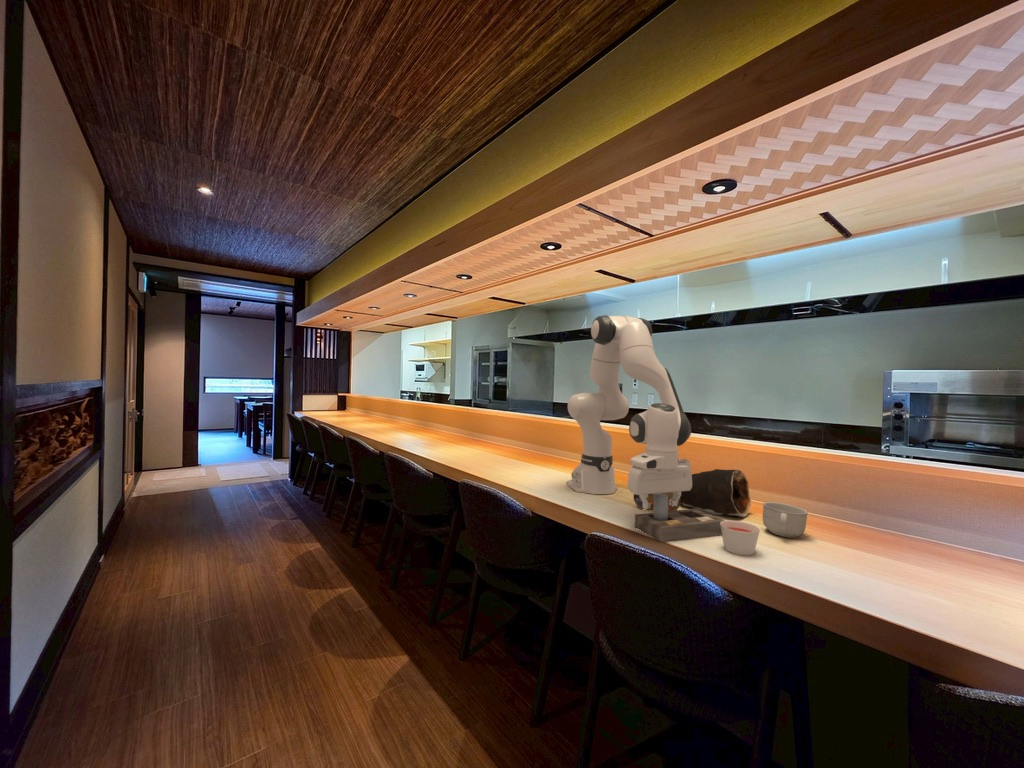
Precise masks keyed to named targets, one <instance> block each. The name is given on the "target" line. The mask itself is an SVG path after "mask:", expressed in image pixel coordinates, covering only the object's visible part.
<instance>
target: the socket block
mask: <svg viewBox="0 0 1024 768" xmlns="http://www.w3.org/2000/svg"><path fill="white" fill-rule="evenodd" d="M722 521H726V520H725V519H722V518H721V517H718V516H716V515H713V514H710V513H706V512H703V511H700V510H698V509H695V508H689V509H688V508H687V509H686V508H685V509H677V510H675V511H668V520H666V521H658V520H656V519H654V518H653V512H646V513H643V512H642V513H635V515H634V529H636V528H637V530H638V529H639V530H638V531H640V530H641V531H640V532H642V531H643V532H642V533H643V534H645V533H646V534H645V535H648V536H649V537H651V538H653V539H655V540H657V541H658V542H660V543H669V542H670V541H671V542H677V541H679V542H680V541H685V540H694V539H702V538H708V537H709V538H710V537H711V538H712V537H717V536H722V532H721V526H720V522H722ZM671 542H670V543H671Z"/></svg>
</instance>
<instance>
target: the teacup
mask: <svg viewBox="0 0 1024 768" xmlns="http://www.w3.org/2000/svg"><path fill="white" fill-rule="evenodd" d="M762 505H763V507H762V509H763V510H762V523H763V525H764V527H765V528H766V529H768V531H769V532H770V533H772V534H774V535H777V536H781V537H783V538H790V539H791V538H792V539H793V538H797V537H799V536H802V535H803V534H804V533H805V531H806V528H807V527H806V526H807V520H808V513H809V512H808V510H806V509H804V508H801V507H798V506H796V505H793V504H787V503H783V502H775V501H774V502H773V501H766V502H763V503H762Z"/></svg>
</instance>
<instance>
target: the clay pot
mask: <svg viewBox="0 0 1024 768" xmlns="http://www.w3.org/2000/svg"><path fill="white" fill-rule="evenodd" d="M691 474H692V473H691ZM749 487H750V485H749V480H748V479H747V477H746V475H745V473H744V472H743V471H742V470H740V469H721V468H720V469H719V468H715V469H711V470H705V471H701V472H697V473H693V474H692V488H691V490H690V491H681V496H680V505H683V506H684V507H688V508H691V509H697V510H700V511H702V512H705V513H707V514H710V515H713V516H733V517H740V518H745V517H746V516H747V515H748V512H749V510H750V508H751V502H752V499H751V494H750V488H749Z"/></svg>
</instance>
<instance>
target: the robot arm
mask: <svg viewBox="0 0 1024 768" xmlns="http://www.w3.org/2000/svg"><path fill="white" fill-rule="evenodd" d="M652 327H653V326H652V325H651V323H650V321H649V320H647V319H645V318H642V317H634V316H630V315H629V316H628V315H607V314H606V315H599V316H596V318H594V320H593V321H592V323H591V327H590V337H591V338H592V340H593V342H594V343H595V344H594V347H593V351H592V357H591V364H590V369H589V377H590V379H591V381H592V382H593V383H594V384H596V385H597V386H598V392H580V393H575V394H573V395H571V396H570V398H569V399H568V402H567V411H568V414H569V415H570V417H571V418H572V419H573V420H574V421H575V422H577V424H578V425H579V427H580V429H581V432H582V438H583V441H582V442H583V444H582V445H583V453H582V454H581V456H580V462H579V464H578V465H577V466H576V467H575V468H574V469H572V472H571V479H570V480H566V483H565V484H566V485H568V486H569V487H570V489H572V490H573V491H574V490H575V491H574V492H576V493H586V494H592V495H610V494H614V493H615V492H616V490H618V486H617V485H616V476H615V474H616V473H615V468H614V467H613V464H614V463H613V458H614V457H613V455H612V449H613V446H612V445H613V443H612V442H613V441H612V440H613V439H612V436H611V434H610V433H609V432H608V431H607V430H605V429H603V428H602V425H601V421H617V420H620V419H624V418H625V417H626V416H627V415H628V413H629V409H630V404H629V400H628V399H627V397H626V396H625V395H624V394H623V393H622V392H621V388H620V384H619V377H620V369H621V367H622V370H623V371H624V373H625V374H626V375H628V376H629V377H630V378H632V379H634V380H636V381H639V382H642V383H644V384H646V385H647V386H650V387H652V388H653V389H655V390H656V392H657V393H658V396H659V398H660V401H661V402H659V403H657V402H655V403H652V404H651V403H650V404H649V406H648V408H647V410H645V411H642V412H640V413H636V414H634V415H633V416H632V417H631V419H630V420H629V423H628V424H629V426H628V431H629V436H630V437H631V439H632V440H633V441H634V442H635V443H637V444H642V445H646V446H645V452H643V453H640V454H638V455H635V456H633V457H631V458H630V460H629V461H630V465H631V467H630V469H629V472H628V475H627V476H628V477H627V478H628V479H627V489H628V491H629V492H630V493H631V494H633V495H634V494H636V495H639V496H640V498H641V500H642V502H643V508H644V509H650V508H651V507H650V506H651V503H649V502H648V501H647V499H646V498H648V494H654V493H666V492H673V493H674V495H673V497H672V499H670V500H669V502H670V503H669V505H670V506H672V507H677V505H678V500H679V498H680V496H681V491H690V490H691V488H692V470H691V467H692V466H691V462H690V461H689V460H688V459H687V458H681V459H680V458H679V449H678V447H681V446H682V445H684V444H685V443H686V442H687V441H688V440H689V438H690V437H691V435H692V425H691V423H690V420H689V418H688V417H687V415H686V413H685V412H684V409H683V407H682V403H681V401H680V397H679V395H678V393H677V390H676V387H675V383H674V382H673V379H672V376H671V374H670V372H669V370H668V369H667V368H666V367H665V366H663V364H661V362H660V360H659V358H658V357H657V355H656V352H655V348H654V343H653V339H652V336H653V335H652V334H653V328H652Z"/></svg>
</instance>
